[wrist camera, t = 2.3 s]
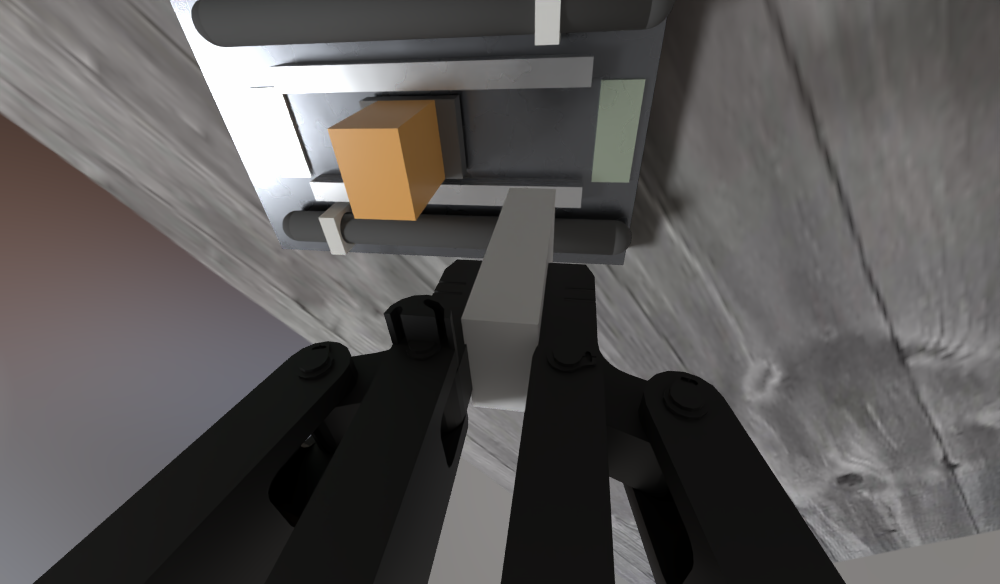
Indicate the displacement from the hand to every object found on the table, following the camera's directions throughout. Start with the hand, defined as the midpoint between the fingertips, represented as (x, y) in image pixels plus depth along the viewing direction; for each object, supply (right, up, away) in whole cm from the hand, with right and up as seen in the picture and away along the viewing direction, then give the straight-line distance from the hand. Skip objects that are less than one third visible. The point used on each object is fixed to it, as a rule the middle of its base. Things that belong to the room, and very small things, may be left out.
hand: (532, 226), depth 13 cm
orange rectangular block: (-6, +6, +8) cm, 12 cm away
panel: (-5, +8, +10) cm, 14 cm away
